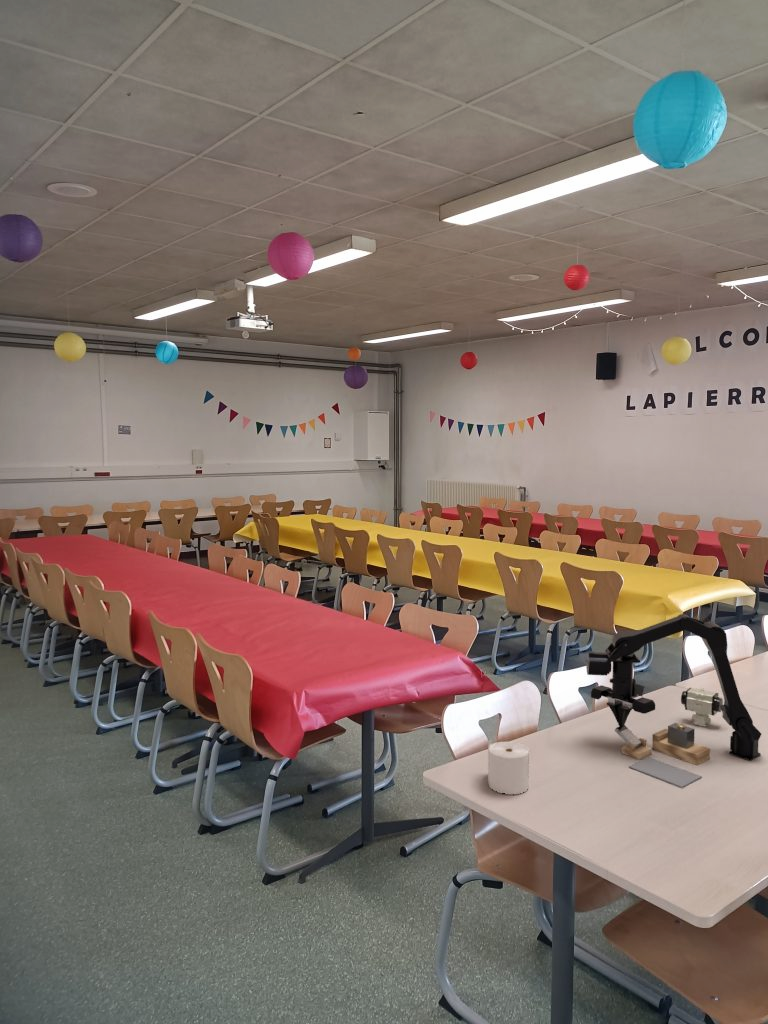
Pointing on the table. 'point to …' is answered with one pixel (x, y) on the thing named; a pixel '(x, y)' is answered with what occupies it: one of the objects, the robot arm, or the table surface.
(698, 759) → the body
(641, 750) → the lever mount
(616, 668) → the robot arm
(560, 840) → the table surface
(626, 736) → the lever
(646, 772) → the felt pad
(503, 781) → the toilet tissue
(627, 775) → the table surface
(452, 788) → the table surface
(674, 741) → the grey knobbed drawer
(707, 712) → the pneumatic valve
